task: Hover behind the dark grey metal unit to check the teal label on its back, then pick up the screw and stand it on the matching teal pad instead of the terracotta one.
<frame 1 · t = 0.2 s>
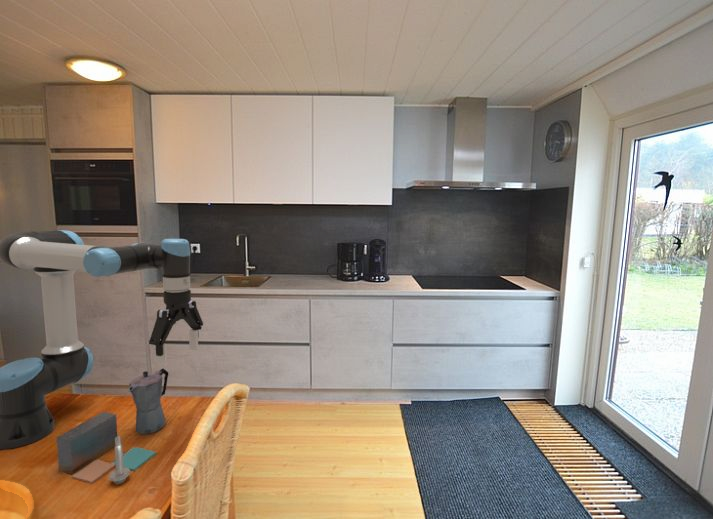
hand: (179, 356, 114), 28 cm above the table, tool pointing down, fingers open, 13 cm apart
grey unit: (90, 456, 108), on the table
moka pot: (151, 426, 125), on the table
teal pad: (134, 459, 108), on the table
screw: (120, 481, 99), on the table
terracotta pad: (94, 472, 102), on the table
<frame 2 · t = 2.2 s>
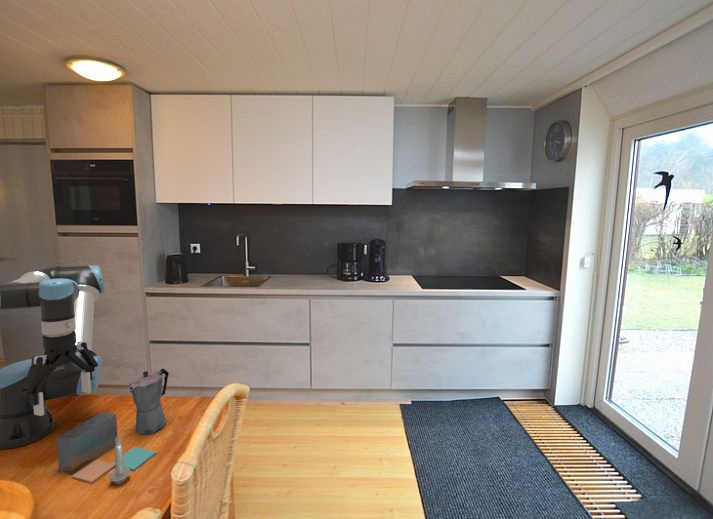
hand: (64, 402, 108), 16 cm above the table, tool pointing down, fingers open, 13 cm apart
nothing on the table moved.
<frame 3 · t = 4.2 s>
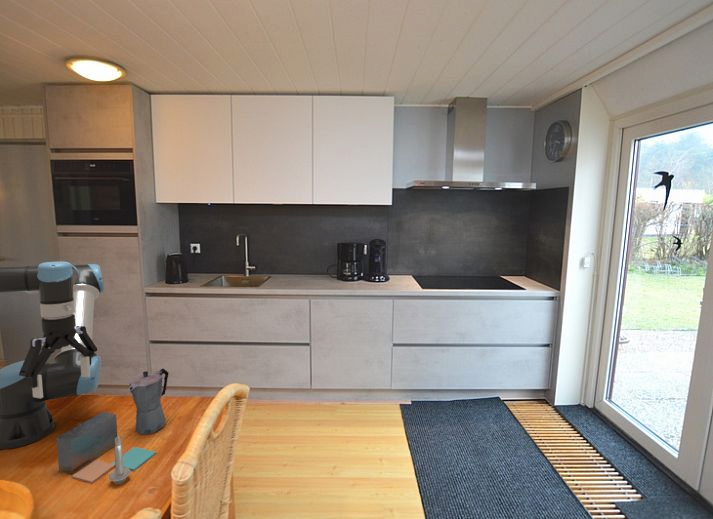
hand: (63, 386, 108), 21 cm above the table, tool pointing down, fingers open, 13 cm apart
nothing on the table moved.
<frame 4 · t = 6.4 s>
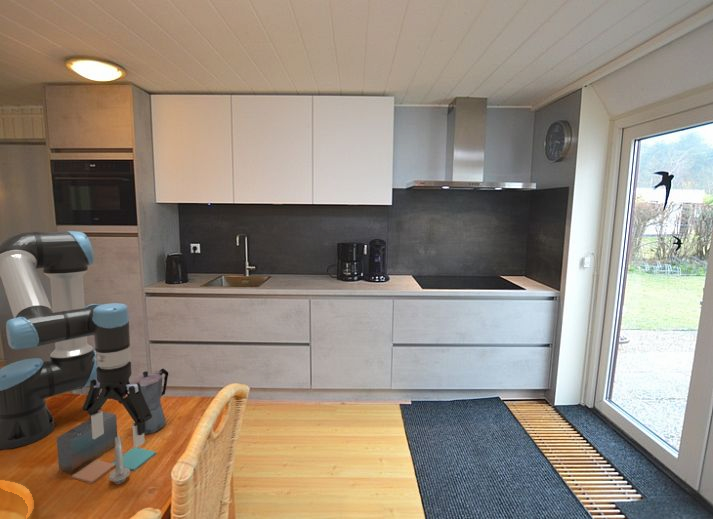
hand: (118, 440, 98), 12 cm above the table, tool pointing down, fingers open, 13 cm apart
nothing on the table moved.
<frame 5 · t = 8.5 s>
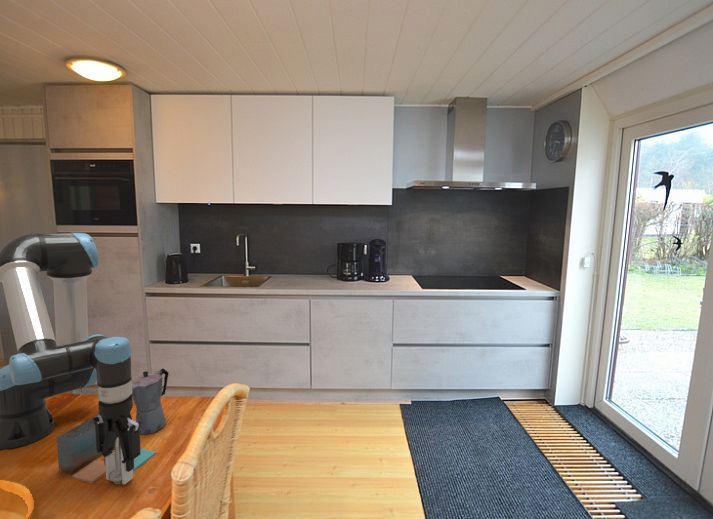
hand: (119, 478, 99), 1 cm above the table, tool pointing down, fingers closed on screw, 5 cm apart
screw: (120, 481, 99), on the table, touching gripper
everything else where it was.
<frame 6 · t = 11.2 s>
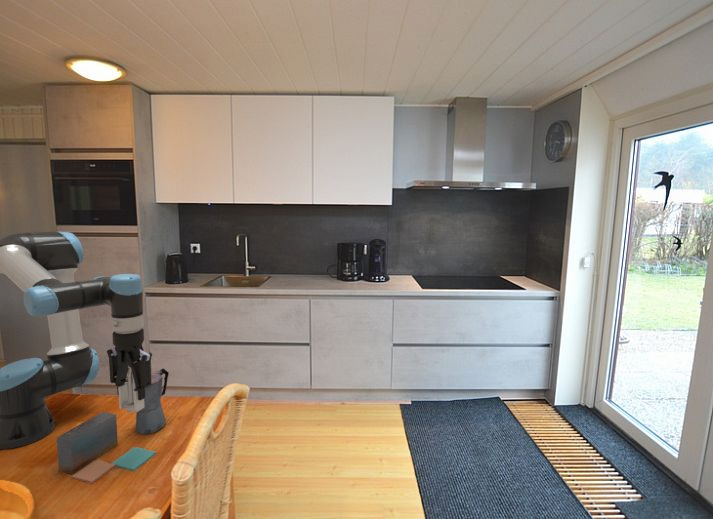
hand: (131, 407, 106), 16 cm above the table, tool pointing down, fingers closed on screw, 5 cm apart
screw: (132, 410, 106), point 15 cm above the table, touching gripper
everything else where it was.
when the fingers open (3 cm above the table, at t = 14.2 s): screw drops 1 cm, resting on teal pad.
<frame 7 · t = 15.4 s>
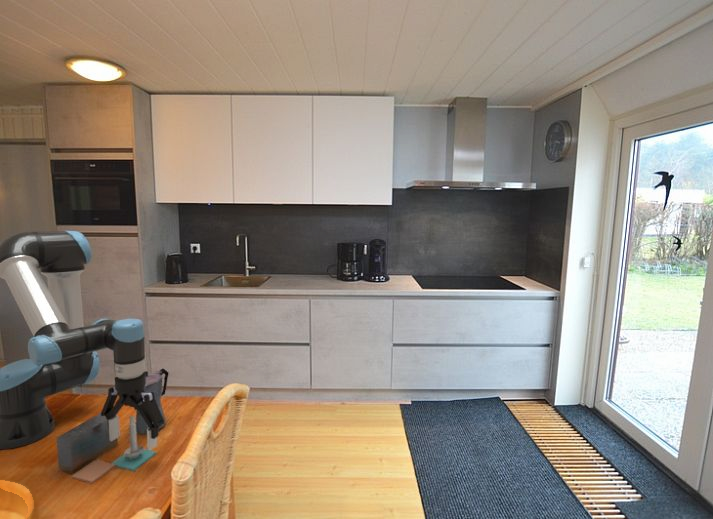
hand: (133, 443, 107), 5 cm above the table, tool pointing down, fingers open, 13 cm apart
screw: (134, 458, 108), resting on teal pad
everything else where it was.
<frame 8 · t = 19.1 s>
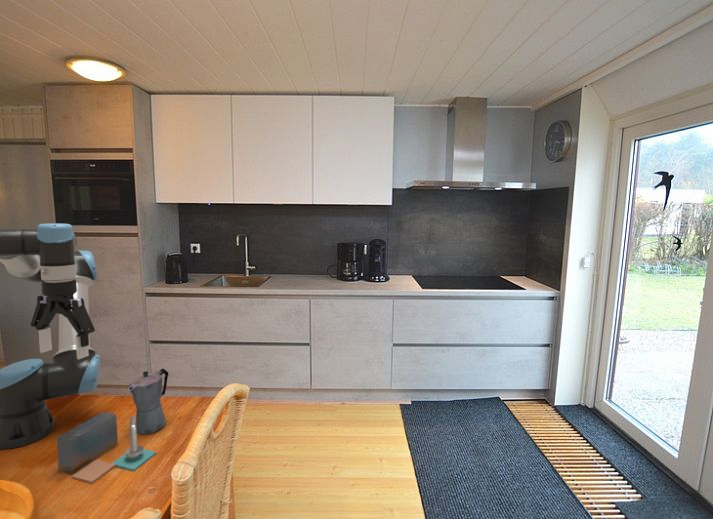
hand: (64, 354, 104), 32 cm above the table, tool pointing down, fingers open, 13 cm apart
nothing on the table moved.
at the end: screw 0.0 cm off-centre on the teal pad, point 0.4 cm above the teal pad's base; screw tilted 0°; the gripper is holding nothing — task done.
